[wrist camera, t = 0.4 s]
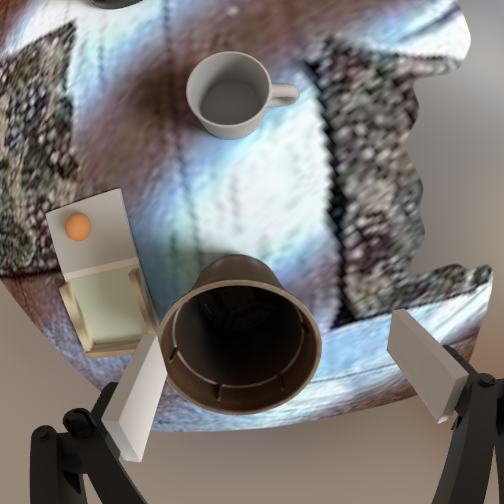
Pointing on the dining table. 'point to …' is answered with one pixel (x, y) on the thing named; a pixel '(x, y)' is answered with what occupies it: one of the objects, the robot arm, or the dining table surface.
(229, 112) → the mug
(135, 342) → the fence
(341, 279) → the dining table surface
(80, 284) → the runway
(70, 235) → the ball
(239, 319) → the plant pot
